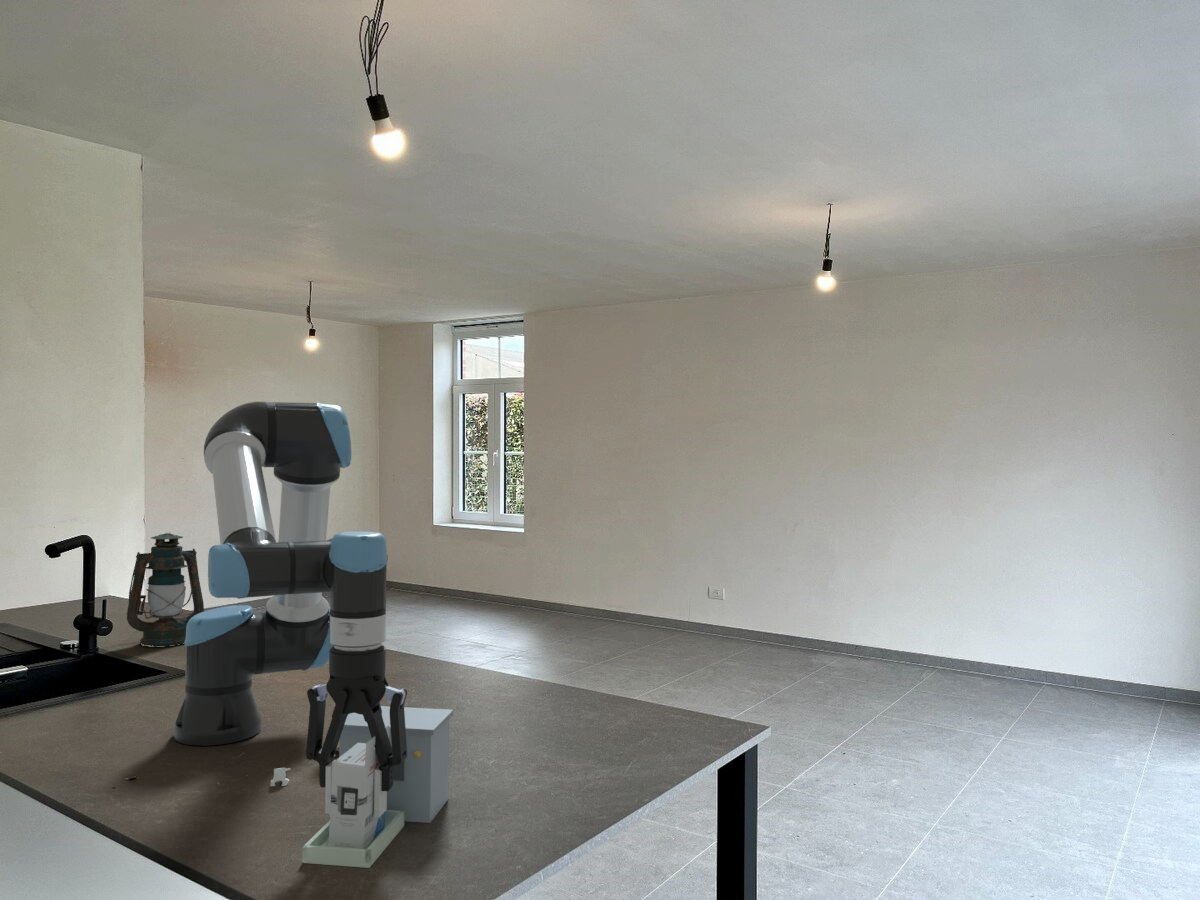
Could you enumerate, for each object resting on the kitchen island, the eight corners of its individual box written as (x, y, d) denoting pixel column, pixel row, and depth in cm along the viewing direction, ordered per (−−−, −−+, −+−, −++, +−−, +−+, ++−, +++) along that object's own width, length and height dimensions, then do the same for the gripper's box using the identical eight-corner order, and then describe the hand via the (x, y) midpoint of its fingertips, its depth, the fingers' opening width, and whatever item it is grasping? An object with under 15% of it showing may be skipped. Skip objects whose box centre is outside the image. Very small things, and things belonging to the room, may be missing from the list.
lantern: (132, 651, 234) (133, 536, 234) (119, 642, 245) (120, 532, 245) (210, 641, 247) (211, 532, 247) (194, 633, 258) (195, 528, 258)
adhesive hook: (270, 790, 144) (270, 770, 144) (270, 784, 147) (270, 765, 147) (290, 787, 145) (290, 768, 145) (289, 782, 148) (289, 763, 148)
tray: (302, 862, 119) (302, 846, 119) (343, 821, 132) (343, 806, 132) (369, 867, 117) (369, 851, 117) (404, 825, 130) (404, 811, 130)
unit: (333, 817, 133) (334, 724, 133) (360, 792, 143) (361, 704, 143) (432, 824, 131) (433, 729, 131) (452, 797, 141) (453, 709, 141)
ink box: (353, 823, 129) (358, 720, 129) (386, 827, 128) (391, 723, 128) (326, 849, 121) (332, 739, 121) (361, 853, 120) (367, 742, 120)
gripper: (278, 648, 122) (277, 818, 122) (416, 654, 119) (414, 827, 120) (303, 636, 129) (302, 796, 129) (433, 641, 127) (432, 805, 127)
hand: (356, 811), depth 125 cm, fingers open, 6 cm apart
